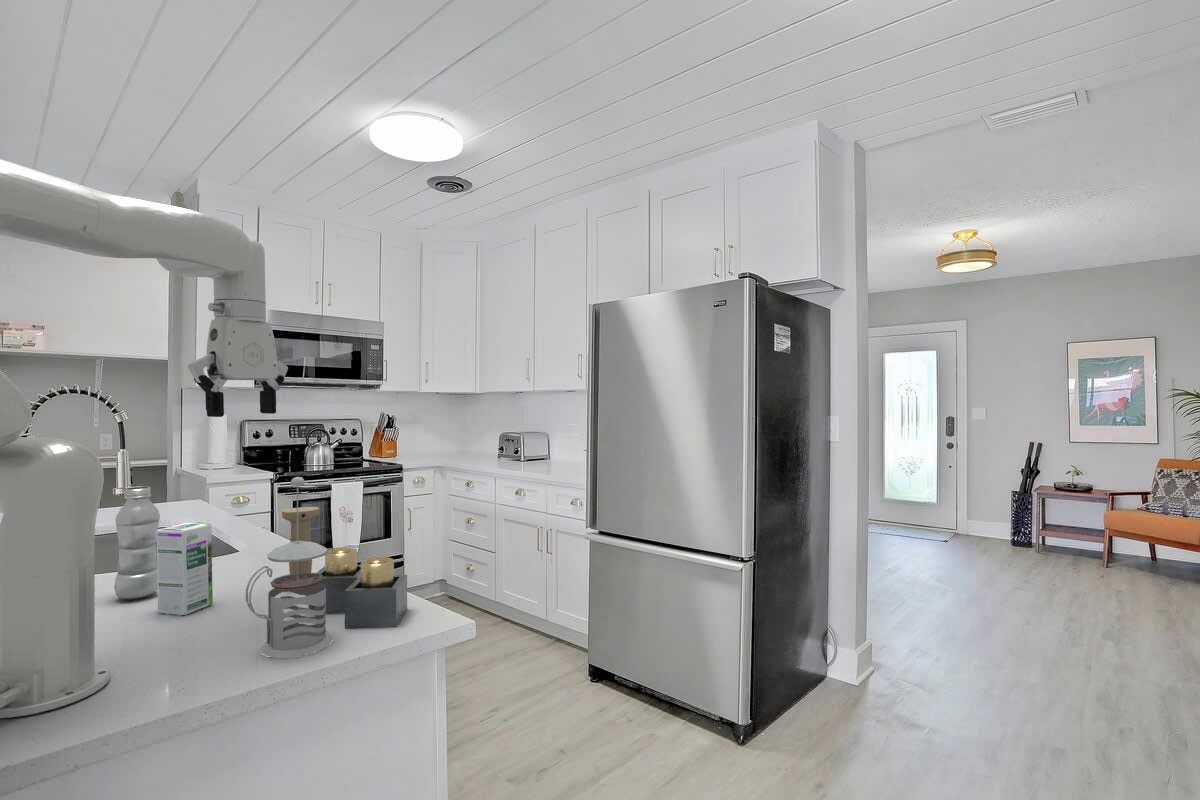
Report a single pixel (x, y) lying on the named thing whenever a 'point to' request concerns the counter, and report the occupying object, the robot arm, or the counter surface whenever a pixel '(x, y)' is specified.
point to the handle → (300, 533)
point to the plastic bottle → (137, 545)
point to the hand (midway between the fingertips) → (242, 414)
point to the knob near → (377, 573)
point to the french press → (294, 602)
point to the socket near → (375, 604)
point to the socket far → (336, 590)
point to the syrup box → (184, 568)
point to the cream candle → (341, 562)
